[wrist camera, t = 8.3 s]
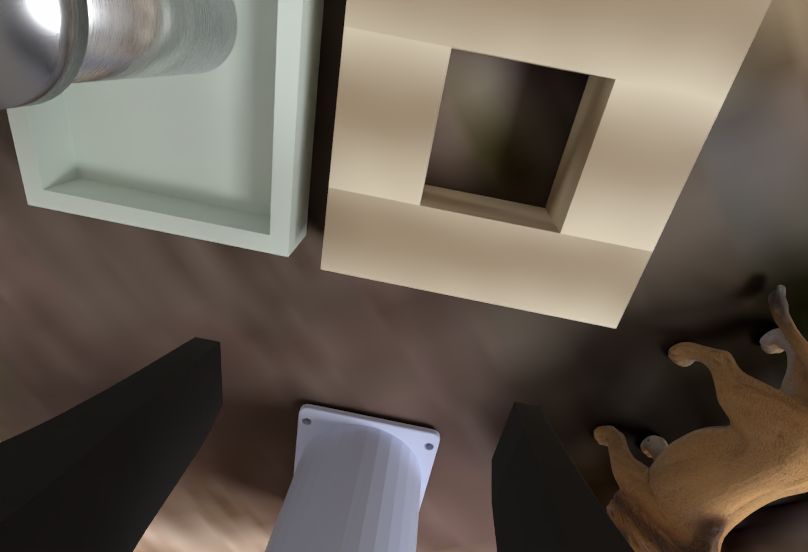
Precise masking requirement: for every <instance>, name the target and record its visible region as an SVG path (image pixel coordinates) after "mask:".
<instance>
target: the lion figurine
mask: <svg viewBox="0 0 808 552" xmlns="http://www.w3.org/2000/svg"><path fill="white" fill-rule="evenodd" d="M785 295H786V289H785V287H784V286H783V285H777V287H776V288H775V289H774V290H773V291H772V292H771V293H770V294H769V297H768V302H769V308H770V310H771V313H772V315H773V318H774V321H775V322H776V324H777V325H778V327H779V328H777V329H773V330H771V331H769V332H767V333H766V334H765V335H764V336H763V337H762V338H761V339H760V344H761V347H762V349H763V351H765V352H766V353H770V354H772V353H781V352H782V351H784V350H785V351H786V354H787V360H788V365H787V371H786V374H785V377H784V379H783V382H782V385H781V387H780V390H778V389H776V388H774V387H772V386H770V385H768V384H766V383H763V382H761V381H759V380H757V379H755V378H753V377H751V376H749V375H747V374H745V373H744V372H743V371H742V370H741V369H740V368H739V367H738V366H737V364H736V362H735V360H734V358H733V356H732V355H731V354H730V353H729V352H728V351H724V350H719V349H714V348H710V347H706V346H702V345H699V344H696V343H692V342H682V343H678V344H676V345H674V346H672V347H671V348H670V349H669V352H668V357H669V358H670V359H671V360H672V361H673V362H674V363H675V364H678V365H680V366H683V367H686V366H689V365H691V364H692V363H693V362H695V361H700V362H702V363H703V364H705V365H706V366H707V367H708V368H709V369H710V371H711V373H712V376H713V380H714V384H715V388H716V393H717V399H718V402H719V404H720V405H721V407H722V408H723V410H724V411H725V413H726V414H727V416H728V417H729V419H730V422H731V424H730V425H729V426H715V427H707V428H703V429H699V430H695V431H693V432H691V433H689V434H686V435H685V436H683V437H681V438H679V439H677V440H675V441H674V442H672V443H671V444H670V445H668V444H667V442H666V441H665V440H664V439H663V438H661V437H658V436H655V435H651V436H648V437H647V438H645V439H644V440H643V442H642V443H641V450H642V452H643V453H645V454H646V455H647V456H648V457H652V458H653V460H654V462H653V464H652V466H651V467H650V468H648V467H647V466H645V465H644V464H642V463H641V462H639V461H637V460H636V459H635V458H634V457H633V455H632V454H631V452H630V450H629V448H628V446H627V442H626V438H625V436H624V435H623V433H621V432H619V431H618V430H617V429H616V428H615V427H613V426H610V425H609V426H599V427H597V428H596V429H595V430H594V438H595V439H596V440H597V441H598V443H599V444H601V445H605V446H608V449H609V454H610V459H611V467H612V471H613V474H614V477H615V479H616V481H617V483H618V485H619V487H620V490H619V491H617V492H616V493H615V495H614V499H613V500H611V501H610V504H609V505H608V506H607V514H608V516H609V517H610V518H611V520H612V521H613V523H614V524H615V525H616V527H617V528H618V530H619V531H620V532H621V534H622V535H623V536H624V538H625V539H626V541H627V542H628V543H629V544H630V546H631V547H632V548H633V550H634V551H635V552H720V550H721V545H722V542H723V539H724V537H725V536H726V535H727V533H728V532H729V531H730V530H731V529H732V528H733V527H734V526H735V525H737V524H738V523H739V522H740V521H742V520H743V519H744V518H745V517H747V516H748V515H749V514H751V513H752V512H754V511H755V510H757V509H758V508H760V507H762V506H764V505H765V504H768V503H770V502H772V501H774V500H777V499H779V498H782V497H786V496H791V495H795V494H800V493H804V492H808V342H807V341H806V340H805V339H804V338H803V337H802V335H801V334H800V332H799V331H798V330H797V328H796V326H795V324H794V322H793V320H792V319H791V317H790V315H789V311H788V302H787V300H786V298H785Z"/></svg>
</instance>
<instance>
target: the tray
mask: <svg viewBox="0 0 808 552" xmlns="http://www.w3.org/2000/svg"><path fill="white" fill-rule="evenodd" d="M234 4H235V7H236V13H237V35H236V40H235V44H234V47H233V49H232V51H231V53H230V55H229V56H228V58H227V59H226V60H225V61H224V62H223V63H222V64H221V65H220V66H219V67H217V68H216V69H214V70H212V71H209V72H206V73H201V74H188V75H175V76H162V77H149V78H135V79H122V80H109V81H96V82H83V83H71V84H70V86H69V87H67V88H66V89H65V90H64V91H63V92H62V93H61V94H60V95H58V96H56V97H55V98H53V99H52V100H49V101H47V102H44V103H42V104H37V105H32V106H26V107H17V108H9V109H6V110H7V114H8V119H9V123H10V127H11V132H12V136H13V141H14V145H15V149H16V154H17V158H18V163H19V167H20V171H21V176H22V180H23V184H24V189H25V193H26V198H27V202H28V205H32V206H37V207H42V208H47V209H52V210H57V211H62V212H67V213H72V214H77V215H82V216H87V217H92V218H97V219H102V220H107V221H112V222H117V223H122V224H127V225H132V226H137V227H142V228H147V229H152V230H157V231H162V232H167V233H172V234H177V235H182V236H187V237H192V238H196V239H201V240H206V241H211V242H216V243H221V244H226V245H231V246H236V247H241V248H246V249H251V250H256V251H261V252H266V253H271V254H276V255H281V256H286V257H289V255H290V254H291V253H292V252H293V250H294V249H295V248H296V247H297V246H298V244H299V243H300V242H301V241H302V239H303V238H304V237H305V236H306V231H307V218H308V205H309V192H310V179H311V166H312V152H313V139H314V126H315V113H316V100H317V87H318V74H319V61H320V48H321V35H322V21H323V8H324V0H234Z"/></svg>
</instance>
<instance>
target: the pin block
mask: <svg viewBox="0 0 808 552" xmlns="http://www.w3.org/2000/svg"><path fill="white" fill-rule="evenodd" d="M771 1H772V0H347V1H346V11H345V22H344V32H343V43H342V53H341V63H340V74H339V84H338V95H337V105H336V115H335V126H334V136H333V146H332V157H331V167H330V178H329V188H328V198H327V209H326V219H325V230H324V240H323V250H322V261H321V270H326V271H331V272H336V273H341V274H346V275H351V276H356V277H361V278H366V279H371V280H376V281H381V282H386V283H391V284H396V285H401V286H406V287H411V288H416V289H421V290H426V291H431V292H436V293H441V294H446V295H451V296H456V297H461V298H466V299H471V300H476V301H481V302H486V303H491V304H496V305H501V306H506V307H510V308H515V309H520V310H525V311H530V312H535V313H540V314H545V315H550V316H555V317H560V318H565V319H570V320H575V321H580V322H585V323H590V324H595V325H600V326H605V327H610V328H615V329H616V328H617V326H618V324H619V321H620V319H621V317H622V315H623V313H624V311H625V309H626V307H627V305H628V303H629V300H630V298H631V296H632V294H633V292H634V290H635V288H636V286H637V284H638V281H639V279H640V277H641V275H642V273H643V271H644V269H645V267H646V265H647V262H648V260H649V258H650V256H651V254H652V252H653V250H654V248H655V246H656V243H657V241H658V239H659V237H660V235H661V233H662V231H663V229H664V227H665V224H666V222H667V220H668V218H669V216H670V214H671V212H672V210H673V208H674V205H675V203H676V201H677V199H678V197H679V195H680V193H681V191H682V189H683V186H684V184H685V182H686V180H687V178H688V176H689V174H690V172H691V170H692V167H693V165H694V163H695V161H696V159H697V157H698V155H699V153H700V151H701V149H702V146H703V144H704V142H705V140H706V138H707V136H708V134H709V132H710V130H711V127H712V125H713V123H714V121H715V119H716V117H717V115H718V113H719V111H720V108H721V106H722V104H723V102H724V100H725V98H726V96H727V94H728V92H729V89H730V87H731V85H732V83H733V81H734V79H735V77H736V75H737V73H738V70H739V68H740V66H741V64H742V62H743V60H744V58H745V56H746V54H747V51H748V49H749V47H750V45H751V43H752V41H753V39H754V37H755V35H756V32H757V30H758V28H759V26H760V24H761V22H762V20H763V18H764V16H765V13H766V11H767V9H768V7H769V5H770V3H771ZM451 49H456V50H461V51H466V52H471V53H476V54H481V55H487V56H492V57H497V58H502V59H507V60H512V61H517V62H523V63H528V64H533V65H538V66H543V67H548V68H553V69H558V70H564V71H569V72H574V73H579V74H584V75H589V78H588V81H587V84H586V87H585V90H584V93H583V96H582V99H581V102H580V105H579V108H578V111H577V114H576V117H575V120H574V123H573V126H572V129H571V132H570V135H569V138H568V141H567V144H566V147H565V149H564V152H563V155H562V158H561V161H560V164H559V167H558V170H557V173H556V176H555V179H554V182H553V185H552V188H551V191H550V194H549V197H548V200H547V203H546V206H545V208H542V207H537V206H532V205H527V204H522V203H517V202H512V201H507V200H502V199H497V198H492V197H486V196H481V195H476V194H471V193H466V192H461V191H456V190H451V189H446V188H441V187H436V186H431V185H426V184H425V179H426V174H427V169H428V164H429V159H430V154H431V149H432V144H433V139H434V134H435V129H436V124H437V119H438V114H439V109H440V104H441V99H442V94H443V88H444V83H445V78H446V73H447V68H448V63H449V58H450V53H451Z"/></svg>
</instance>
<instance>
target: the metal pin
mask: <svg viewBox="0 0 808 552" xmlns="http://www.w3.org/2000/svg"><path fill="white" fill-rule="evenodd" d="M236 35H237V13H236V7H235V4H234V0H0V110H1V109H9V108H17V107H26V106H32V105H37V104H42V103H44V102H47V101H49V100H52V99H53V98H55V97H56V96H58V95H60V94H61V93H62V92H63V91H64V90H65V89H66V88H67V87H69V86H70V84H71V83H83V82H96V81H109V80H122V79H135V78H149V77H162V76H175V75H188V74H201V73H206V72H209V71H212V70H214V69H216V68H217V67H219V66H220V65H221V64H222V63H223V62H224V61H225V60H226V59H227V58H228V56H229V55H230V53H231V51H232V49H233V47H234V44H235V40H236Z"/></svg>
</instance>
